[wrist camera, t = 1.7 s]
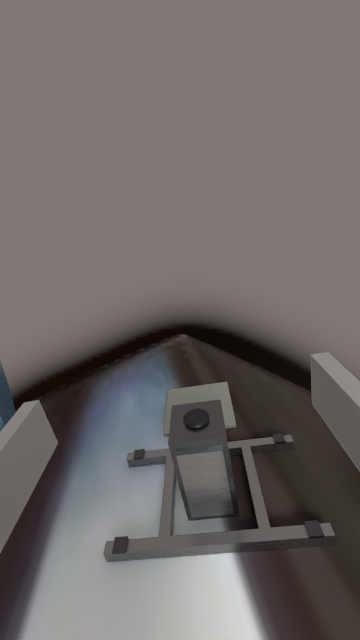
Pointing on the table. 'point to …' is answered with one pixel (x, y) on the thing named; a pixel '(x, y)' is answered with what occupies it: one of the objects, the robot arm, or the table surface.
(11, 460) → the robot arm
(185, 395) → the pad
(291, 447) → the rail frame
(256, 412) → the table surface
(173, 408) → the tall box with knob
